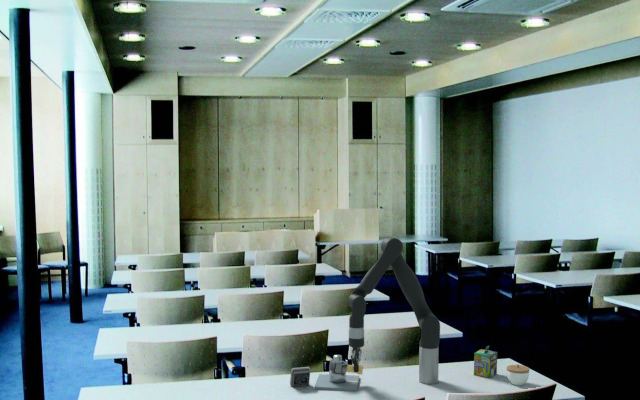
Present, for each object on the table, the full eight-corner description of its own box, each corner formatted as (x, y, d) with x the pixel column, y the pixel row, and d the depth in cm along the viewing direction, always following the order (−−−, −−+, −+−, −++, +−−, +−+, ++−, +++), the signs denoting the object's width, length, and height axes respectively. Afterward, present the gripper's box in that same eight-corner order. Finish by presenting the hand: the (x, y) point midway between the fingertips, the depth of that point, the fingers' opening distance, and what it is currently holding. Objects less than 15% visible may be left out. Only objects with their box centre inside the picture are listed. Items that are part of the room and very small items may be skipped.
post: (346, 378, 351) (346, 353, 350) (345, 383, 343) (345, 358, 342) (330, 378, 351) (330, 353, 351) (328, 383, 344) (328, 357, 343)
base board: (359, 378, 356) (359, 359, 355) (356, 391, 336) (356, 371, 336) (319, 376, 358) (319, 357, 358) (314, 389, 338) (314, 369, 338)
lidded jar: (533, 384, 346) (534, 365, 346) (517, 388, 341) (518, 369, 340) (517, 378, 355) (517, 360, 355) (501, 382, 350) (501, 363, 349)
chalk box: (480, 370, 369) (480, 342, 368) (497, 374, 364) (497, 345, 363) (473, 375, 361) (473, 346, 361) (490, 378, 356) (490, 349, 355)
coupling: (361, 371, 351) (362, 363, 351) (362, 376, 342) (363, 367, 342) (329, 366, 351) (330, 358, 351) (329, 371, 342) (330, 363, 342)
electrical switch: (308, 383, 347) (308, 365, 346) (311, 387, 342) (311, 369, 341) (289, 385, 344) (290, 367, 343) (292, 389, 339) (292, 371, 338)
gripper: (360, 340, 335) (360, 376, 336) (367, 333, 348) (367, 368, 349) (345, 338, 337) (345, 375, 338) (352, 332, 350) (352, 367, 351)
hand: (356, 371), depth 343 cm, fingers closed
